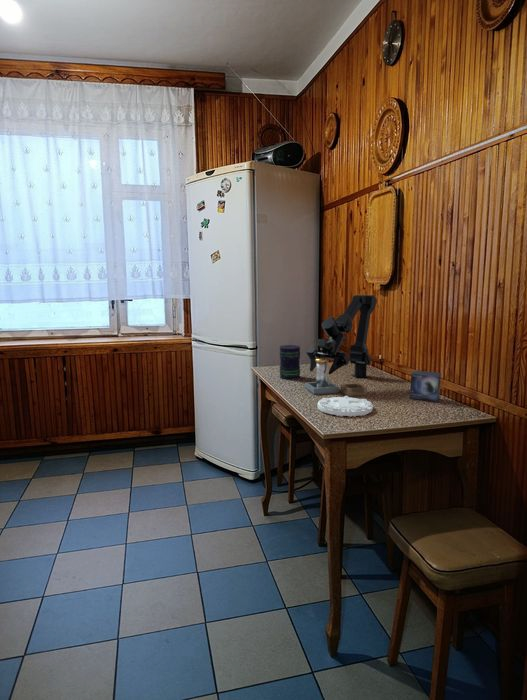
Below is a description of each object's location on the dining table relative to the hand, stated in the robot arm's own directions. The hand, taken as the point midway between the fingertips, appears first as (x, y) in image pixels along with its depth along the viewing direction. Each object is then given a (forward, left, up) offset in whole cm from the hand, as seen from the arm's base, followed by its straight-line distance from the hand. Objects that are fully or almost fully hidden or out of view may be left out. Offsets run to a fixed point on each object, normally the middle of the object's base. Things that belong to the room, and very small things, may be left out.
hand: (319, 372), depth 197 cm
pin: (-1, +1, -7) cm, 8 cm away
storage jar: (-29, -4, -8) cm, 30 cm away
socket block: (+7, +12, -8) cm, 16 cm away
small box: (+23, +35, -8) cm, 43 cm away
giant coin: (+27, -1, -9) cm, 29 cm away
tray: (-1, +1, -8) cm, 8 cm away
